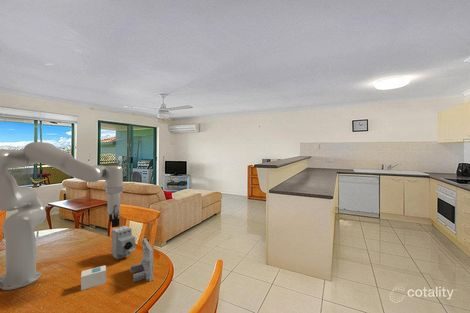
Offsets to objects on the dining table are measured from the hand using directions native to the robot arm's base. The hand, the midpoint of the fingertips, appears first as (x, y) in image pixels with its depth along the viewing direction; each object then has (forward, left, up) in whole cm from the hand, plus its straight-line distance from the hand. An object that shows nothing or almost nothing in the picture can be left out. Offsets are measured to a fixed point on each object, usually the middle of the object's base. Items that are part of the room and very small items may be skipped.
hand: (114, 223), depth 103 cm
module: (-9, -9, -23) cm, 26 cm away
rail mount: (+10, -13, -23) cm, 28 cm away
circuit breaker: (+5, +11, -23) cm, 26 cm away
